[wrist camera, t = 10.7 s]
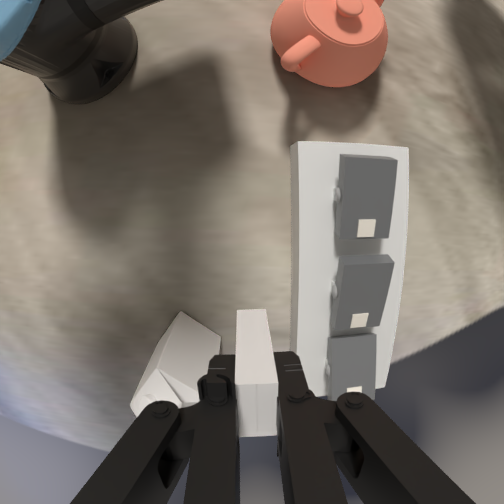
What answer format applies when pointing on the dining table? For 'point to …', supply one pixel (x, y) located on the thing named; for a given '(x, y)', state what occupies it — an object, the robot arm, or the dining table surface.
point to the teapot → (330, 39)
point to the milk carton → (177, 364)
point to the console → (337, 254)
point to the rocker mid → (360, 291)
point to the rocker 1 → (365, 196)
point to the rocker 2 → (351, 364)
